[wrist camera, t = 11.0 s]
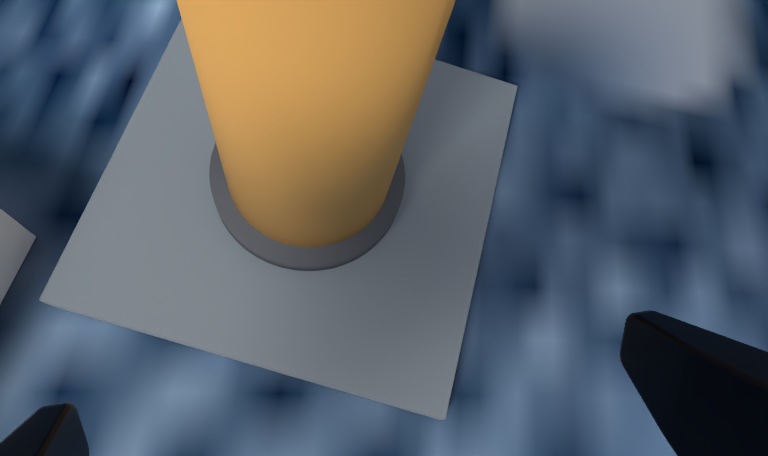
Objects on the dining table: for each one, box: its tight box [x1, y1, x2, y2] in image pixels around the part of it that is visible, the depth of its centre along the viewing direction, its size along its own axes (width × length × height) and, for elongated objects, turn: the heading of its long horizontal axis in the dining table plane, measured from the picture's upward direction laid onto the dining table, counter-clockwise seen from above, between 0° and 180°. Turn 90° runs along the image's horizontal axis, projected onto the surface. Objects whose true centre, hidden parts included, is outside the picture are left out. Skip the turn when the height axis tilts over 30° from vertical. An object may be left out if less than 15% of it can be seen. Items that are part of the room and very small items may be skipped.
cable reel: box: [177, 0, 456, 271], centre depth 13 cm, size 6×6×13 cm
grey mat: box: [39, 19, 517, 420], centre depth 19 cm, size 12×12×1 cm
